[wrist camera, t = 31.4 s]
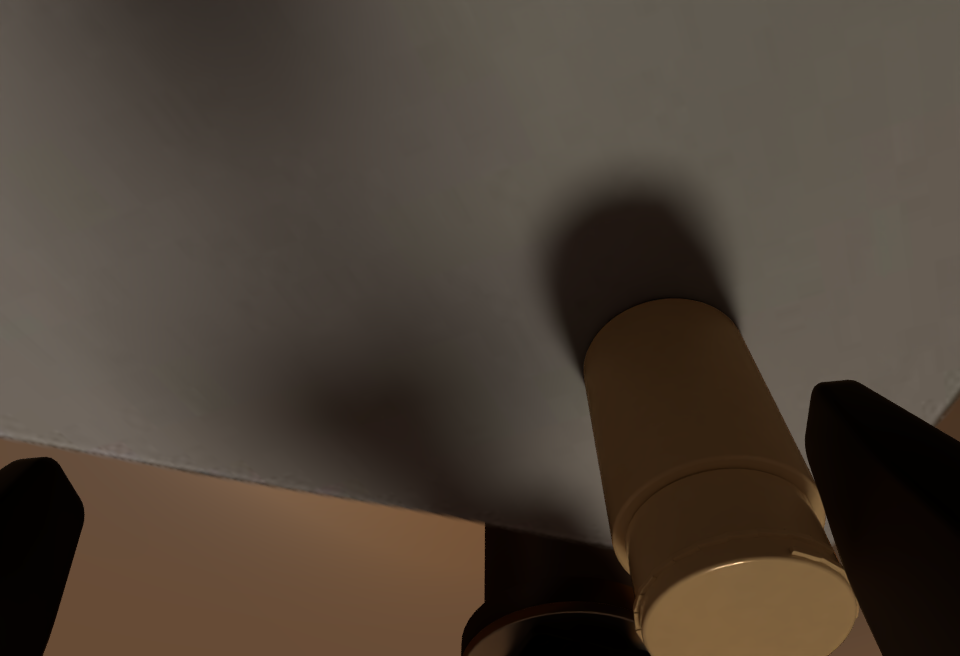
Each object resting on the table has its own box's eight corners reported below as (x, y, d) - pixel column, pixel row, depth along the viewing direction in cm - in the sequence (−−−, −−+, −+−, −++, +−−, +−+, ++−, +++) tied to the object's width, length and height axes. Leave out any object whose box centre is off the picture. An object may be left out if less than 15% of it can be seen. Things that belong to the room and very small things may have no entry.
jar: (695, 441, 26) (787, 711, 18) (558, 402, 25) (590, 668, 17) (775, 324, 23) (925, 581, 15) (624, 276, 22) (700, 523, 14)
